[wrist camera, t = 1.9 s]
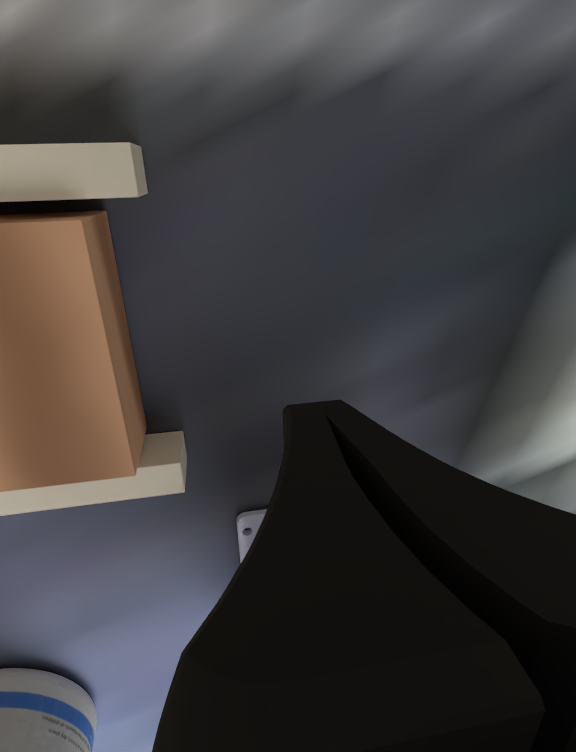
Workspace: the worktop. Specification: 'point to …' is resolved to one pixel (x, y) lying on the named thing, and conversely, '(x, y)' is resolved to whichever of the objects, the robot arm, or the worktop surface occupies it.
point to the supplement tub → (44, 713)
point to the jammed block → (64, 355)
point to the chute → (89, 181)
